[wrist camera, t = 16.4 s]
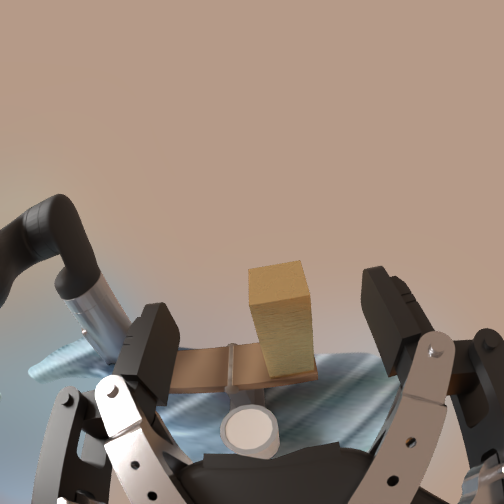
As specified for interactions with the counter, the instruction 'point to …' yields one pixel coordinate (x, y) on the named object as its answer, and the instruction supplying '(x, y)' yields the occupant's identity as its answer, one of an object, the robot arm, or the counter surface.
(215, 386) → the beam
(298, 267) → the block
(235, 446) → the beige short cylinder
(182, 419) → the counter surface
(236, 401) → the beam stand
